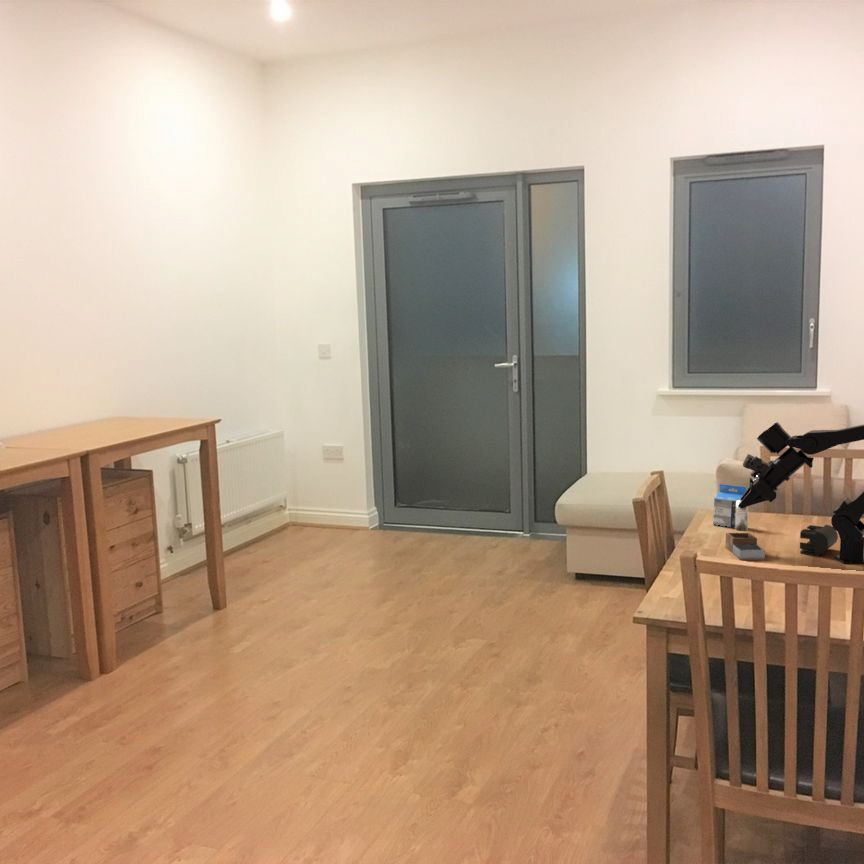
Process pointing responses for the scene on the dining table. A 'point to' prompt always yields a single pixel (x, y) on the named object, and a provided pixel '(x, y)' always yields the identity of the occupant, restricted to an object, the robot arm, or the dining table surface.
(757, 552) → the tray
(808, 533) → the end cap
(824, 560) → the dining table surface
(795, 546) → the dining table surface
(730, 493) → the label tape box
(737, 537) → the bore block
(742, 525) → the axle pin
